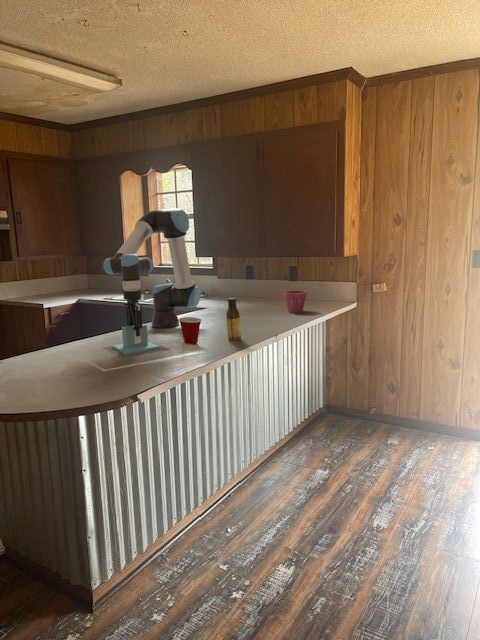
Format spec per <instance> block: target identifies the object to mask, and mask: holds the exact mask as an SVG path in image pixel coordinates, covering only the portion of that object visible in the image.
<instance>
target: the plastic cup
mask: <svg viewBox="0 0 480 640" xmlns="http://www.w3.org/2000/svg"><path fill="white" fill-rule="evenodd" d="M178 320H179V326H180V329H181V333H182V337H183V343H184V344H187V345H193V346H194V345H198V340H199V334H200V327H201V323H202V321H203V319H202V318H200V317H193V316H184V317H180V318H179V317H178Z"/></svg>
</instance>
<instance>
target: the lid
mask: <svg viewBox="0 0 480 640" xmlns="http://www.w3.org/2000/svg"><path fill="white" fill-rule="evenodd" d="M133 328H134V325H132V326H128V325H126V326H122V327H121V332H122V333H121V334H122V343H118V344H114V345H111V346H112V348H113V349H115V350H117V351H119V352H121V353H123V354H125V355H128V354H134V353H139V352H145V351H151V350H156V349H160V346H159V345H160V344H158V345H156V344H157V343H155V344H153V343H154V342H153V343H151V342H152V341H150V342H148V341H149V339H148V326H147V324H145V323H142V328H140V336H141V343H137V344H135V343H134V330H133Z"/></svg>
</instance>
